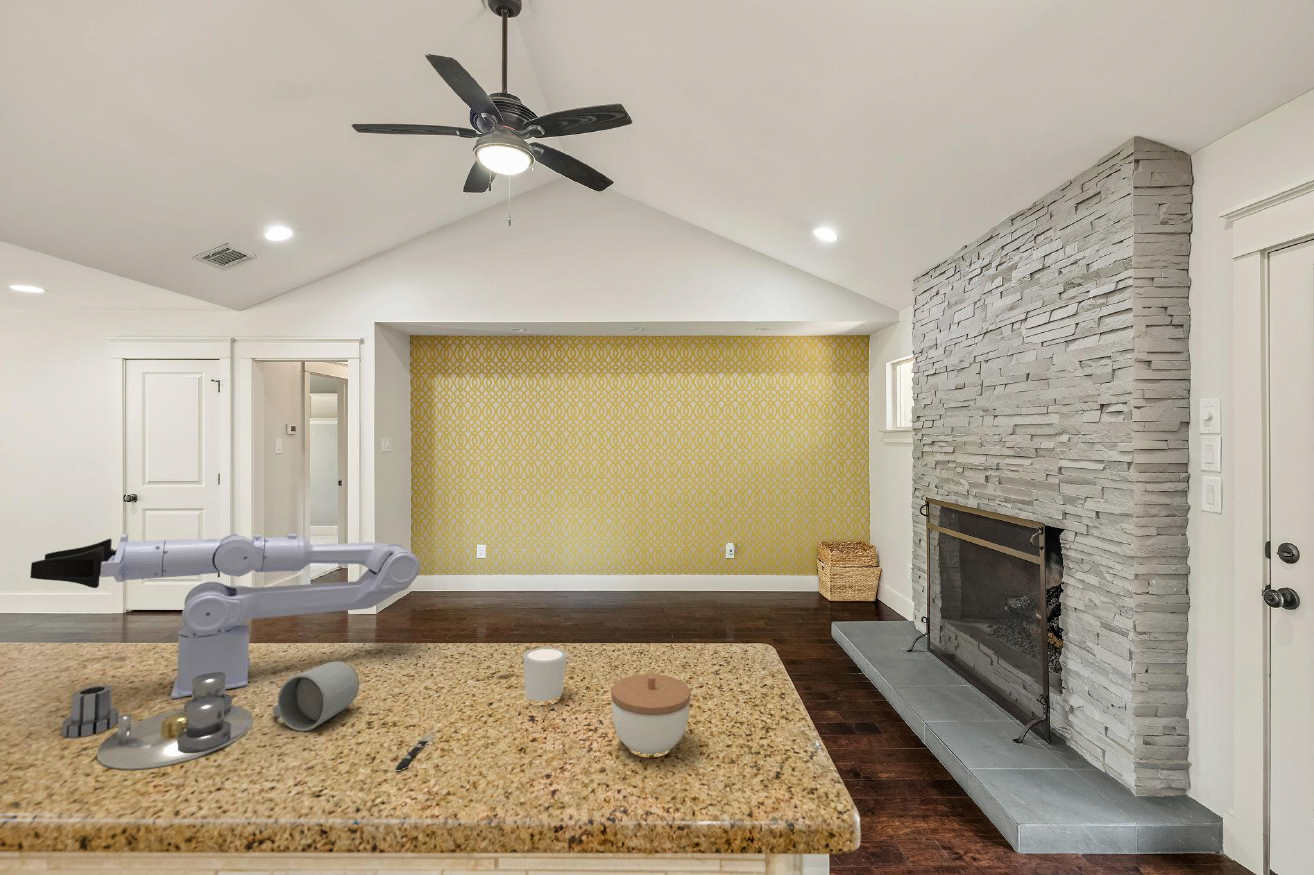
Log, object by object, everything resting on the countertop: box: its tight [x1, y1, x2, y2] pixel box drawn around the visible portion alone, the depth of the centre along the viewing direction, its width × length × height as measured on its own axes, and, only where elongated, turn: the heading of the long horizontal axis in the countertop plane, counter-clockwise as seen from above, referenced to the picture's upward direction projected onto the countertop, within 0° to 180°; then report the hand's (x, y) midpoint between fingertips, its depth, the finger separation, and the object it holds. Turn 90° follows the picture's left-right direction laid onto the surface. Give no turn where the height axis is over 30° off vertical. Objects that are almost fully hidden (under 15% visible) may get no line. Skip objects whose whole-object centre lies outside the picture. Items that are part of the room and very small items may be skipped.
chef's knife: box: [395, 729, 441, 771], centre depth 81 cm, size 19×1×3 cm
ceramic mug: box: [272, 661, 360, 732], centre depth 85 cm, size 11×8×8 cm
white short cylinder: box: [522, 647, 567, 702], centre depth 94 cm, size 7×7×7 cm
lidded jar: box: [611, 673, 692, 754], centre depth 80 cm, size 11×11×9 cm
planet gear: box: [61, 684, 120, 739], centre depth 80 cm, size 6×6×5 cm
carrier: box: [96, 672, 254, 771], centre depth 79 cm, size 16×16×6 cm
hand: (38, 565), depth 83 cm, fingers open, 7 cm apart
